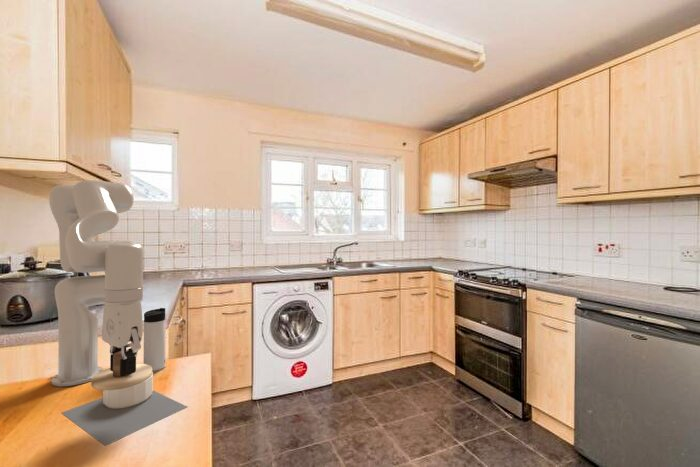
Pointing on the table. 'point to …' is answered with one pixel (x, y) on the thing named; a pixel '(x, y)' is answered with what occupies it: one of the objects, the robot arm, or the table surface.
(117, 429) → the mat
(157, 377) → the table surface
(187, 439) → the table surface
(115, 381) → the lid
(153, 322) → the travel mug
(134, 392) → the bowl
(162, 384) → the table surface
